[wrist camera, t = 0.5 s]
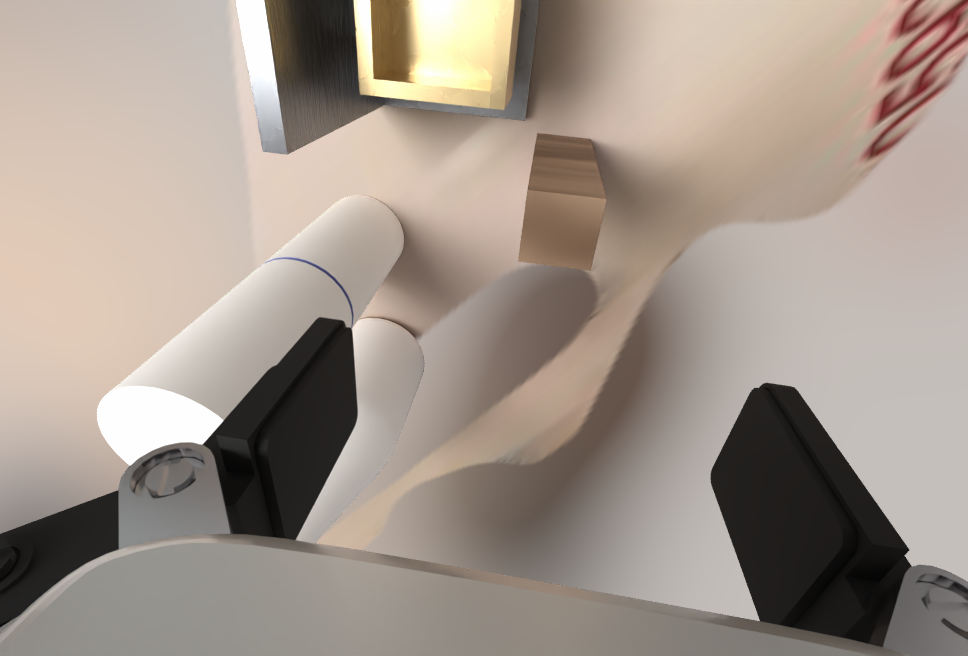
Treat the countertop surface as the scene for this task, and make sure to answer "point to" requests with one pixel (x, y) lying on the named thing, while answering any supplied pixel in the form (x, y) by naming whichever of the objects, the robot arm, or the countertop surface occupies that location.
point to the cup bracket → (382, 61)
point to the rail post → (562, 204)
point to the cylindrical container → (253, 329)
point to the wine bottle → (370, 417)
